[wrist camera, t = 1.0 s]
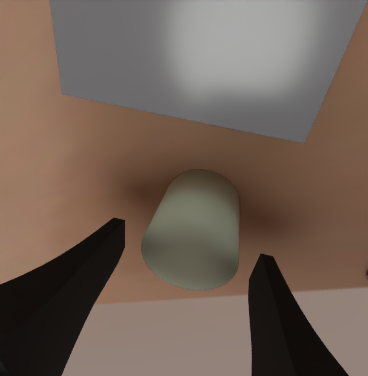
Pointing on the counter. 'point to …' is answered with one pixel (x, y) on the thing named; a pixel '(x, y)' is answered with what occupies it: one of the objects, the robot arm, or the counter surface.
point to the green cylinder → (195, 232)
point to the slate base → (207, 58)
